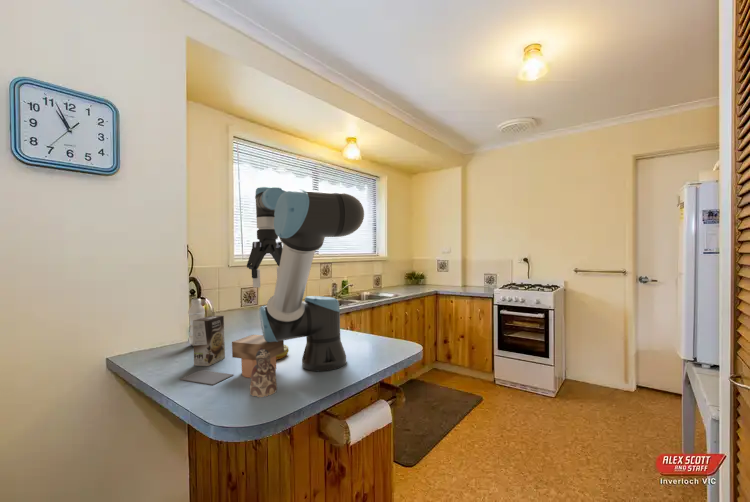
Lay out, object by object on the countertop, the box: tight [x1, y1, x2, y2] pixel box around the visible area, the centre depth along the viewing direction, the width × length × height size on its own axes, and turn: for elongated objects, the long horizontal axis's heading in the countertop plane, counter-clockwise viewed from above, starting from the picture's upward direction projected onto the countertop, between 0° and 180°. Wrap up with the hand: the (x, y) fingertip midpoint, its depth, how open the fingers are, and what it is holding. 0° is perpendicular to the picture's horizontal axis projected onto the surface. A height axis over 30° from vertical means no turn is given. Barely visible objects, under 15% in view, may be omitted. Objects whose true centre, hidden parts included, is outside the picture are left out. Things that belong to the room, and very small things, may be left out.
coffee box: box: [192, 315, 226, 367], centre depth 121 cm, size 9×6×16 cm
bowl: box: [240, 356, 277, 379], centre depth 109 cm, size 10×10×6 cm
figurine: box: [249, 347, 278, 398], centre depth 93 cm, size 7×7×12 cm
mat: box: [179, 369, 234, 386], centre depth 106 cm, size 14×8×1 cm, turn 68°
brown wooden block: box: [231, 334, 285, 360], centre depth 109 cm, size 13×10×5 cm
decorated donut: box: [276, 344, 290, 361], centre depth 124 cm, size 11×12×4 cm
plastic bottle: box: [187, 298, 206, 347], centre depth 144 cm, size 6×7×20 cm
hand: (269, 285), depth 125 cm, fingers open, 13 cm apart
